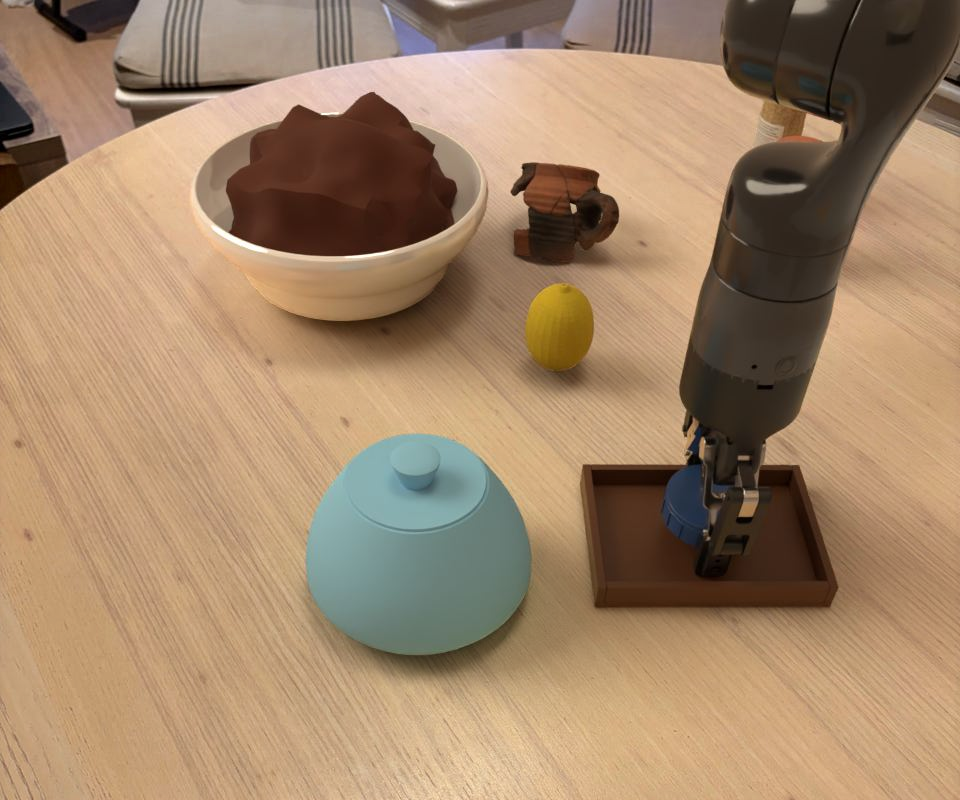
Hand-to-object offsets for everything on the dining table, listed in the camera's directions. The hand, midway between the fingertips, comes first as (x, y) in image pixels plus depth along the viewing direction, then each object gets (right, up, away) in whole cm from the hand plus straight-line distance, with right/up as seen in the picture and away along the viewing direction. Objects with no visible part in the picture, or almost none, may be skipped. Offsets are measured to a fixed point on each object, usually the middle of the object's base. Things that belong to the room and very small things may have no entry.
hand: (701, 536), depth 73 cm
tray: (0, 0, 0) cm, 1 cm away
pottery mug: (-8, +31, +25) cm, 41 cm away
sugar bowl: (-20, -4, -3) cm, 20 cm away
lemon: (-9, +15, +13) cm, 22 cm away
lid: (0, +2, -3) cm, 3 cm away
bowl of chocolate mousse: (-28, +25, +20) cm, 43 cm away
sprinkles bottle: (+13, +37, +31) cm, 50 cm away
